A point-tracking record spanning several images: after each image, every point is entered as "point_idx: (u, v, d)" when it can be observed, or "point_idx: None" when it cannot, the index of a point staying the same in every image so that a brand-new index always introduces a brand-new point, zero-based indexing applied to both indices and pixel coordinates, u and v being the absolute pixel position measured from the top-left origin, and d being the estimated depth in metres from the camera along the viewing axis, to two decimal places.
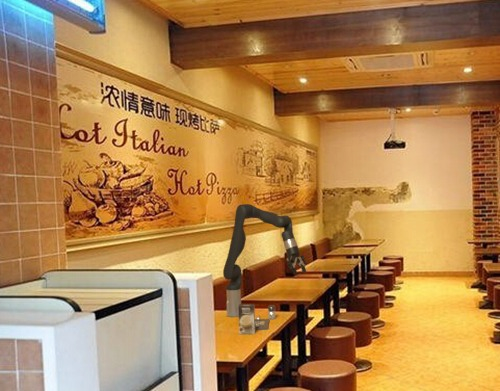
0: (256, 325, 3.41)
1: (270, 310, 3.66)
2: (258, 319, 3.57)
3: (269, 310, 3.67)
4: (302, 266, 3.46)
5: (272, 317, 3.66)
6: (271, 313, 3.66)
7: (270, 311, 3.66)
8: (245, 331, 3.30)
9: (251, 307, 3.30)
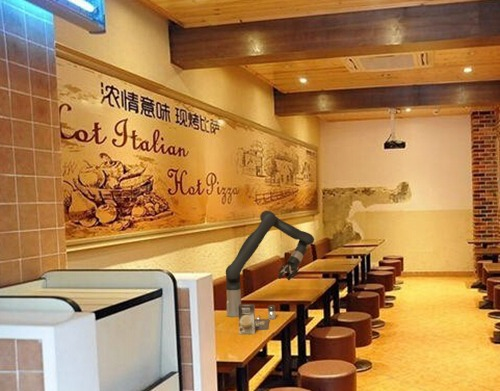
0: (256, 325, 3.41)
1: (270, 310, 3.66)
2: (258, 319, 3.57)
3: (269, 310, 3.67)
4: (282, 273, 3.80)
5: (272, 317, 3.66)
6: (271, 313, 3.66)
7: (270, 311, 3.66)
8: (245, 331, 3.30)
9: (251, 307, 3.30)
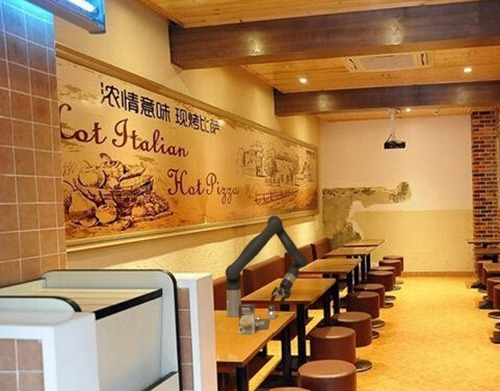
0: (256, 325, 3.41)
1: (270, 310, 3.66)
2: (258, 319, 3.57)
3: (269, 310, 3.67)
4: (274, 296, 3.76)
5: (272, 317, 3.66)
6: (271, 313, 3.66)
7: (270, 310, 3.66)
8: (245, 331, 3.30)
9: (251, 307, 3.30)
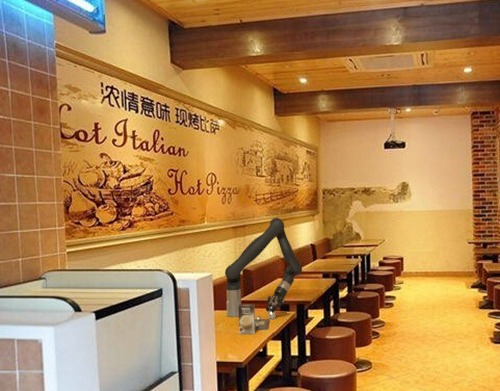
0: (256, 325, 3.41)
1: (270, 310, 3.66)
2: (258, 319, 3.57)
3: (269, 310, 3.67)
4: None
5: (272, 317, 3.66)
6: (271, 313, 3.66)
7: (270, 310, 3.66)
8: (245, 331, 3.30)
9: (251, 307, 3.30)
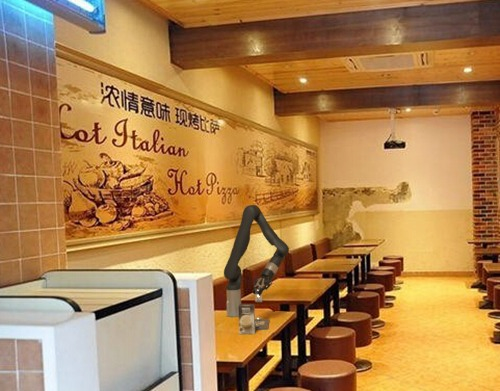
0: (256, 325, 3.41)
1: (257, 292, 3.51)
2: (258, 319, 3.57)
3: (256, 292, 3.52)
4: None
5: (259, 300, 3.51)
6: (258, 295, 3.51)
7: (257, 293, 3.51)
8: (245, 331, 3.30)
9: (251, 307, 3.30)
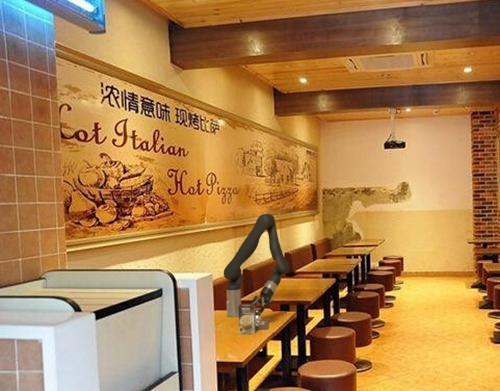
0: (256, 325, 3.41)
1: (256, 314, 3.50)
2: None
3: (255, 314, 3.50)
4: None
5: (258, 321, 3.50)
6: (257, 317, 3.50)
7: (256, 314, 3.50)
8: (245, 331, 3.30)
9: (251, 307, 3.30)
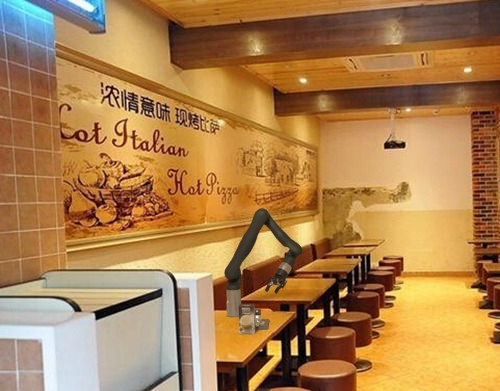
0: (256, 325, 3.41)
1: (256, 314, 3.50)
2: None
3: (255, 314, 3.50)
4: (269, 286, 3.64)
5: (258, 321, 3.50)
6: (257, 317, 3.50)
7: (256, 314, 3.50)
8: (245, 331, 3.30)
9: (251, 307, 3.30)
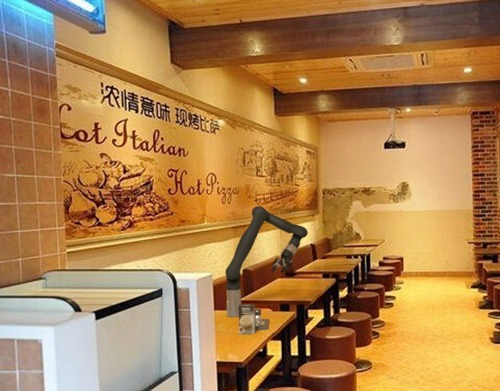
0: (256, 325, 3.41)
1: (256, 314, 3.50)
2: None
3: (255, 314, 3.50)
4: (275, 266, 3.78)
5: (258, 321, 3.50)
6: (257, 317, 3.50)
7: (256, 314, 3.50)
8: (245, 331, 3.30)
9: (251, 307, 3.30)
